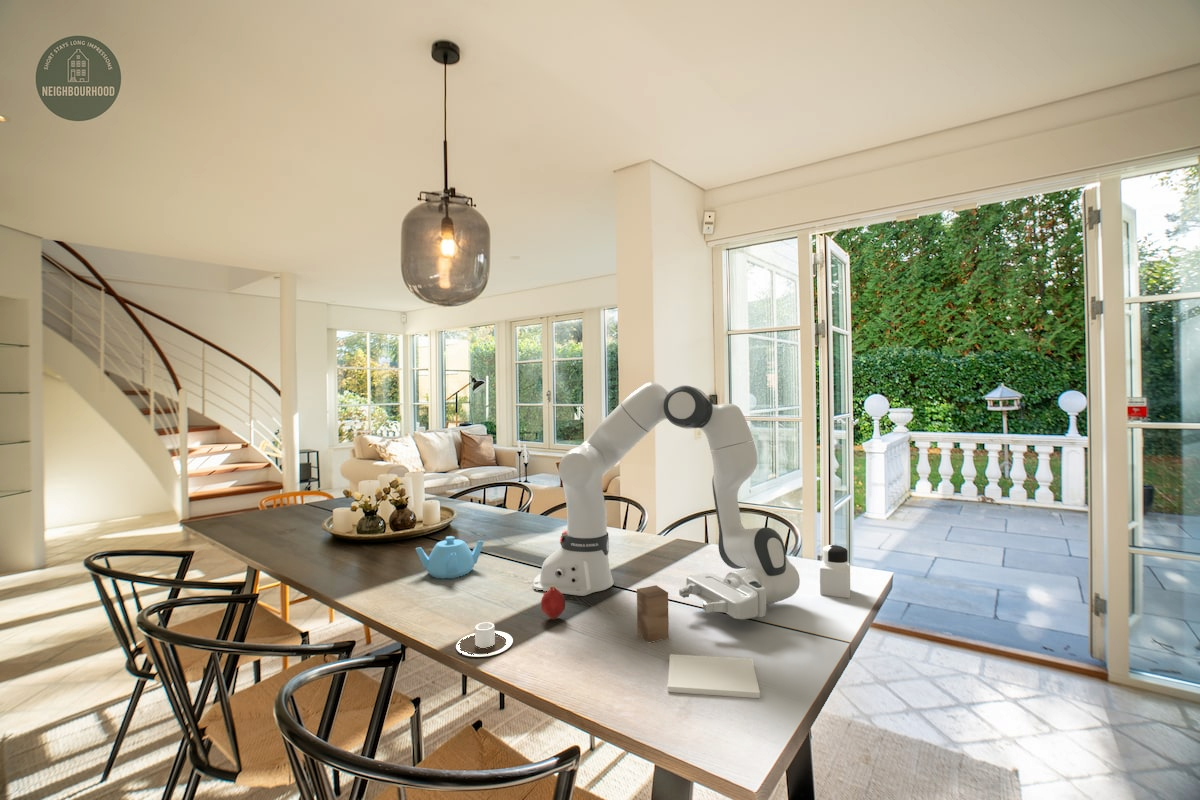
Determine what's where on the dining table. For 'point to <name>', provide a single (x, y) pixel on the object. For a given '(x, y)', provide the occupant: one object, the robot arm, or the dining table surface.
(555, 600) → the onion
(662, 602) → the walnut block
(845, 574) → the medicine bottle
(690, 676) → the serving plate
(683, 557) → the dining table surface
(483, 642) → the candle holder
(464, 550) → the teapot
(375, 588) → the dining table surface
